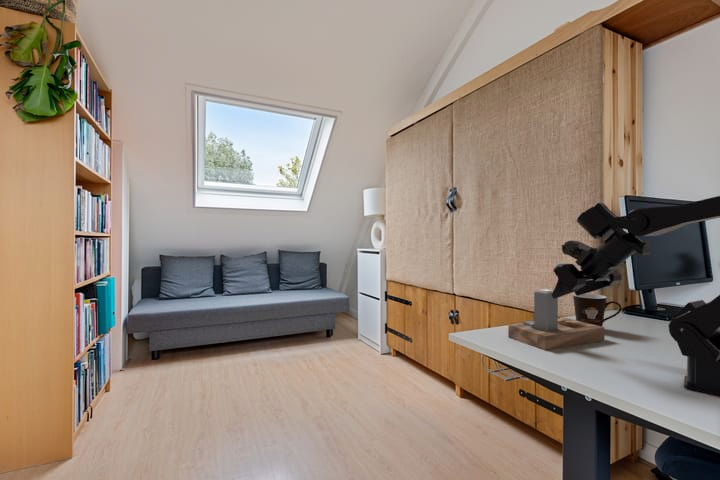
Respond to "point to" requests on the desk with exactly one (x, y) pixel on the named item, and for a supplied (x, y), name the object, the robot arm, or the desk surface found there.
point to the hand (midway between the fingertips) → (564, 295)
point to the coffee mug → (592, 308)
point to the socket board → (556, 334)
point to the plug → (545, 311)
